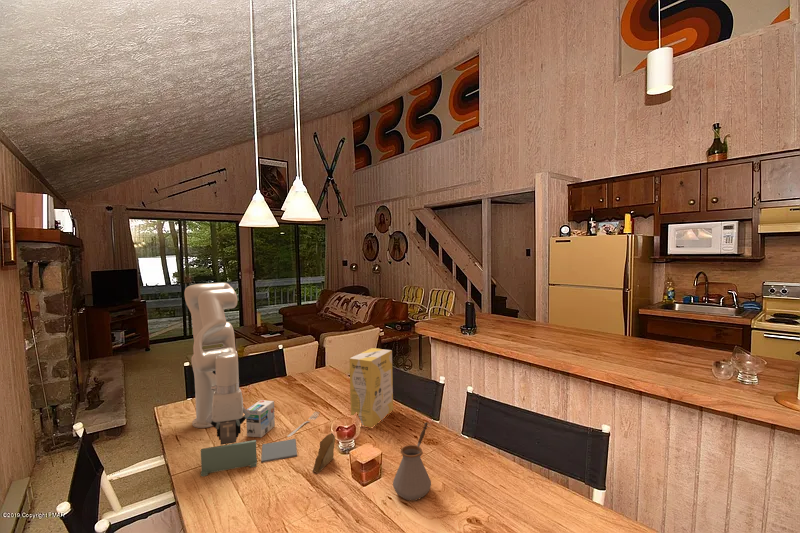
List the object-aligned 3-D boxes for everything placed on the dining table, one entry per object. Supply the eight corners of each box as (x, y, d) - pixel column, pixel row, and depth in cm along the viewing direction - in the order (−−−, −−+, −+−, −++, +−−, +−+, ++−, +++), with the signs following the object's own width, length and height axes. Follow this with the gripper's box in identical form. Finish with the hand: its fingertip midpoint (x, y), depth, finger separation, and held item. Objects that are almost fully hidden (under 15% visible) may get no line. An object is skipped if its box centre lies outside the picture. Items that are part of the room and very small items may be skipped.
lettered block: (222, 437, 138) (221, 416, 138) (237, 435, 140) (236, 414, 139) (220, 445, 133) (219, 423, 132) (235, 443, 135) (235, 421, 134)
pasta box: (373, 407, 175) (371, 348, 173) (393, 411, 170) (391, 350, 169) (351, 423, 158) (349, 358, 157) (372, 428, 154) (370, 361, 152)
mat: (262, 445, 142) (262, 444, 142) (295, 440, 145) (295, 438, 145) (261, 462, 130) (261, 460, 130) (297, 456, 134) (297, 454, 134)
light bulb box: (261, 438, 148) (260, 411, 147) (246, 436, 149) (245, 410, 149) (275, 425, 158) (274, 400, 158) (261, 424, 160) (260, 399, 159)
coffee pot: (424, 509, 105) (423, 456, 104) (386, 499, 109) (385, 449, 109) (444, 468, 125) (444, 423, 124) (412, 461, 129) (411, 418, 129)
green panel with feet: (203, 470, 126) (202, 446, 126) (257, 460, 132) (256, 438, 131) (200, 476, 123) (199, 452, 122) (256, 466, 128) (255, 443, 127)
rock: (320, 471, 120) (344, 455, 127) (308, 446, 123) (333, 431, 130) (308, 479, 127) (332, 462, 134) (297, 455, 130) (321, 440, 137)
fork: (279, 440, 146) (279, 436, 146) (314, 415, 169) (314, 411, 169) (286, 442, 145) (286, 437, 145) (320, 415, 168) (320, 412, 168)
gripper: (199, 394, 129) (201, 445, 130) (252, 388, 135) (253, 438, 136) (203, 386, 136) (205, 435, 137) (253, 381, 142) (254, 428, 143)
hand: (229, 436), depth 137 cm, fingers closed on lettered block, 5 cm apart
